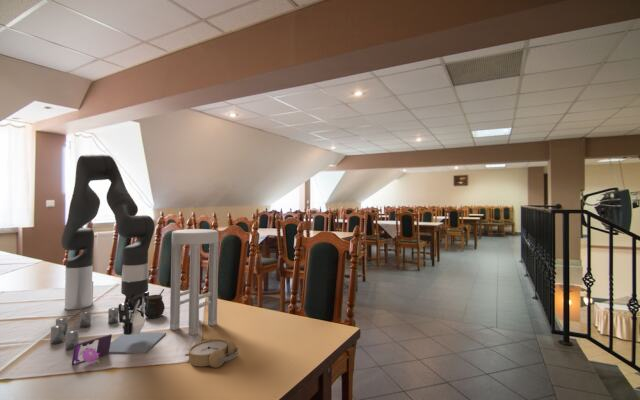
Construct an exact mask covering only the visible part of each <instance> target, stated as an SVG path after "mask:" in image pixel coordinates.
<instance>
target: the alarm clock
mask: <svg viewBox="0 0 640 400" xmlns="http://www.w3.org/2000/svg"><path fill="white" fill-rule="evenodd" d="M238 355H239V347H237V345H236V343H235V342H234V341H233V340H232V341H231V340H229V341H228V340H226V339H221V338H217V339H213V338H212V339H207V340H204V341H200V342H198V343H194V344H193V345H191V346H190V348H189V349H188V353H186V354H184V357H188V363H189V365H191V366H194V367H212V368H215V369H216V368H219V367H222V365H224V364H225V362H228V361H231V360H233V359H235V358H237V356H238Z"/></svg>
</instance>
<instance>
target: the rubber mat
mask: <svg viewBox="0 0 640 400" xmlns="http://www.w3.org/2000/svg"><path fill="white" fill-rule="evenodd" d="M166 335H167V332H140V333H139V334H136V335H125V334H124V332H123V333H121V335H120V334H119V336H117V337H116V338H114V339H113V340H111V343H110V348H109V354H147V352H148V351H150V349H152V348H153V347H154V346H155V345H157V343H158V342H159V341H160V340H161V339H163V337H165V336H166Z"/></svg>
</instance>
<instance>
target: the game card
mask: <svg viewBox="0 0 640 400" xmlns="http://www.w3.org/2000/svg"><path fill="white" fill-rule="evenodd" d="M112 336H113V335H112V334H107V335H103V336H99V337H95V338H93V339H92V338H91V339H88V340H85V341H83V342H78V344H75V345H74V349H73V350H72V351H73V352H72V359H71V366H76V365H78V364H81V363H85V362H88V363H93V362H95V361H96V362H97V363H98V364H100V363H101V360H100V359H99V358H100V357H103V356H107V355H108V354H110V353H109V348H110V343H111V342H112ZM95 341H98V342H97V347H96V348H93V347H87V348H85V349H83V350H82V351H81V352H80V349H81V348H82V347H85V346H88V345H89V346H90V345H93V343H95ZM79 355H82V359H83V360H81V361H80V359H79Z"/></svg>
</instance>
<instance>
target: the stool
mask: <svg viewBox="0 0 640 400" xmlns="http://www.w3.org/2000/svg"><path fill="white" fill-rule="evenodd" d="M219 236H220V235H219V231H218V229H209V228H208V229H206V228H192V229H191V228H190V229H189V228H188V229H177V230H173V231H172V232H171V246H170V247H171V250H170V251H171V253H170V255H171V257H170V258H171V259H170V299H169V300H170V303H169V304H170V306H169V307H170V309H169V330H171V331H175V330H178V329H180V326H181V325H180V324H181V323H180V318H181V317H180V316H181V305H183V304H187V303H188V330H187V332H188V335H192V336H194V335H197V334H199V320H200V309H201V308H203V307H204V308H205V307H206V306H208V307H207V326H212V327H213V326H215V325H217V324H218V288H219V286H218V283H219V281H218V277H219ZM207 244H209V247H208V248H209V250H208V252H209V253H208V256H209V257H208V292H205V293H202V294H200V284H201V283H200V282H201V281H200V278H201V276H200V274H201V273H200V272H201V271H200V270H201V269H200V267H201V245H207ZM182 245H189V283H188V284H189V286H188V287H189V288H188V289H186V290H183V291H181V272H182V271H181V269H182V267H181V266H182V264H181V263H182ZM186 295H188V297H187V298H184V299H181V297H183V296H186ZM205 298H207V299H208V300H206V301H203V302H201V303H200V300H202V299H205Z"/></svg>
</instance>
